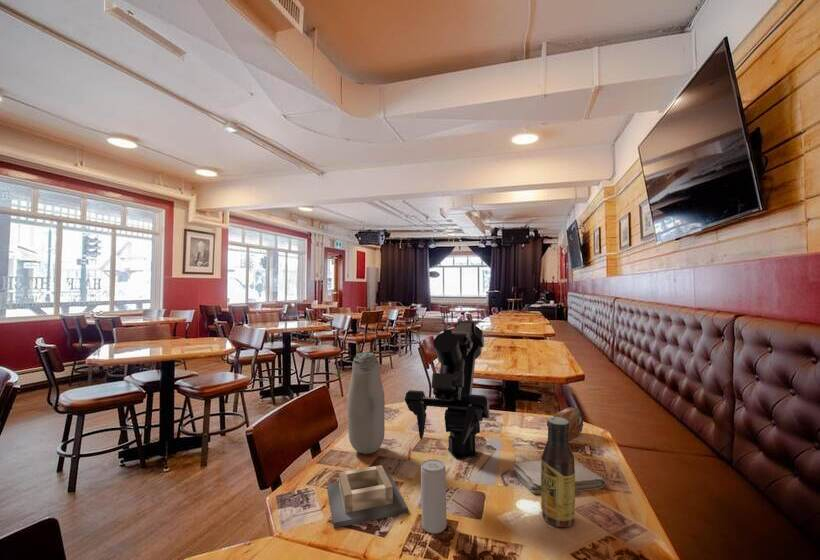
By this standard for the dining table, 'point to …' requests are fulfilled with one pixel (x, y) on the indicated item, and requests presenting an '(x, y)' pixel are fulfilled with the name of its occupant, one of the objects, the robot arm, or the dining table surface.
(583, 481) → the washcloth
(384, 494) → the can collar
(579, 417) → the brown rounded slab
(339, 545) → the dining table surface
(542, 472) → the sauce bottle
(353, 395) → the grey bottle
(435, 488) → the beverage can
